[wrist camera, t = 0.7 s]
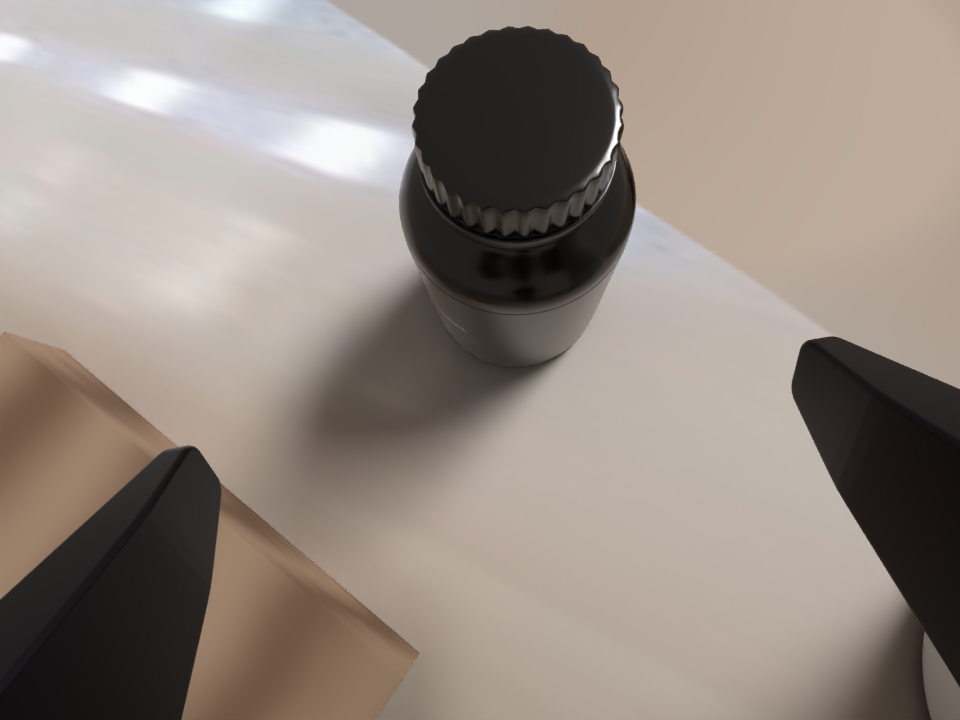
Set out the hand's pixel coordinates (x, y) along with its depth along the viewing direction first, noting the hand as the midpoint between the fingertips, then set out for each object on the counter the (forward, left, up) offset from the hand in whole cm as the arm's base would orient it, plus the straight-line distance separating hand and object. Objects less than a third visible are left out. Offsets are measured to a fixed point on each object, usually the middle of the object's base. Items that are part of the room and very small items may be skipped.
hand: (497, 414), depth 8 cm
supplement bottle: (+6, -3, -15) cm, 16 cm away
